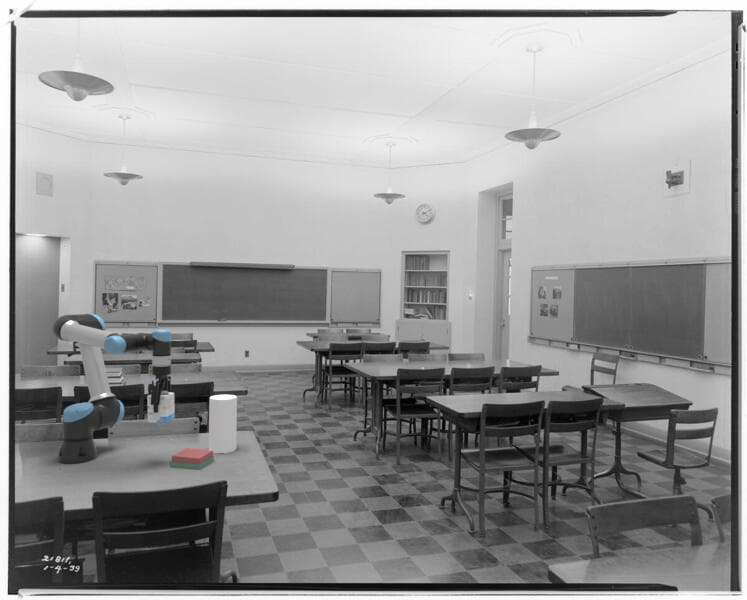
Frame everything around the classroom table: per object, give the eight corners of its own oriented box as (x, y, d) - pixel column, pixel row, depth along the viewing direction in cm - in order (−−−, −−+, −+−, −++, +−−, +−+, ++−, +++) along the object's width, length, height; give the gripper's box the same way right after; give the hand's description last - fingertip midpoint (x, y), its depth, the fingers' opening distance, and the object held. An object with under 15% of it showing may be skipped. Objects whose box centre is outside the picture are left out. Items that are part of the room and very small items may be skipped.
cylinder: (231, 444, 269) (232, 393, 269) (239, 451, 259) (240, 398, 258) (205, 448, 262) (206, 395, 262) (213, 455, 252) (214, 400, 251)
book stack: (169, 467, 235) (169, 455, 235) (185, 459, 247) (185, 447, 247) (199, 470, 232) (199, 458, 232) (213, 461, 244) (213, 450, 244)
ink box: (175, 418, 244) (175, 388, 243) (166, 423, 235) (166, 392, 235) (156, 418, 244) (156, 387, 244) (146, 422, 236) (147, 391, 236)
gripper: (159, 369, 229) (159, 423, 229) (180, 362, 250) (179, 412, 250) (141, 368, 229) (141, 423, 229) (163, 361, 250) (163, 411, 251)
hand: (161, 417), depth 240 cm, fingers closed on ink box, 8 cm apart
